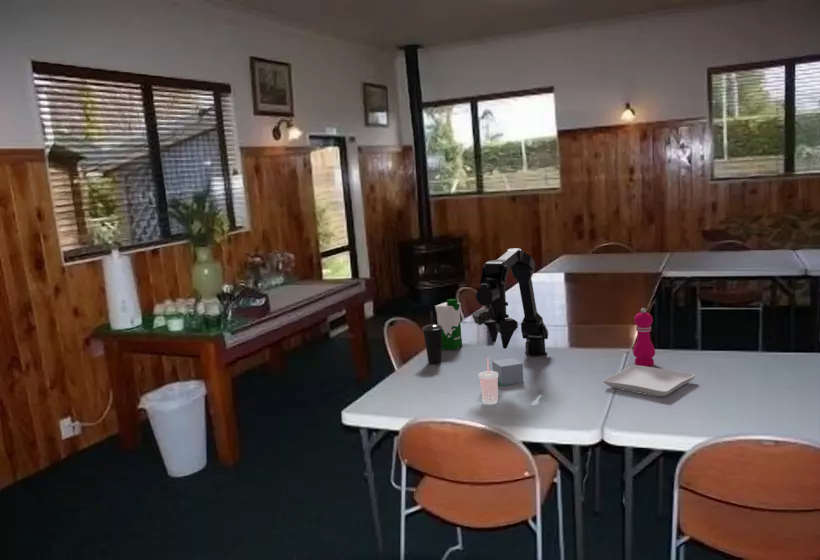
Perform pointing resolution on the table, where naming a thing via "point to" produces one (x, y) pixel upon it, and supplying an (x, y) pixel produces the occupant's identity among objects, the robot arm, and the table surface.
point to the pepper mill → (643, 340)
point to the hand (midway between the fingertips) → (499, 345)
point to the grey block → (508, 370)
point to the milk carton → (450, 323)
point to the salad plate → (648, 380)
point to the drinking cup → (433, 341)
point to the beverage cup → (489, 386)
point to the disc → (503, 384)
